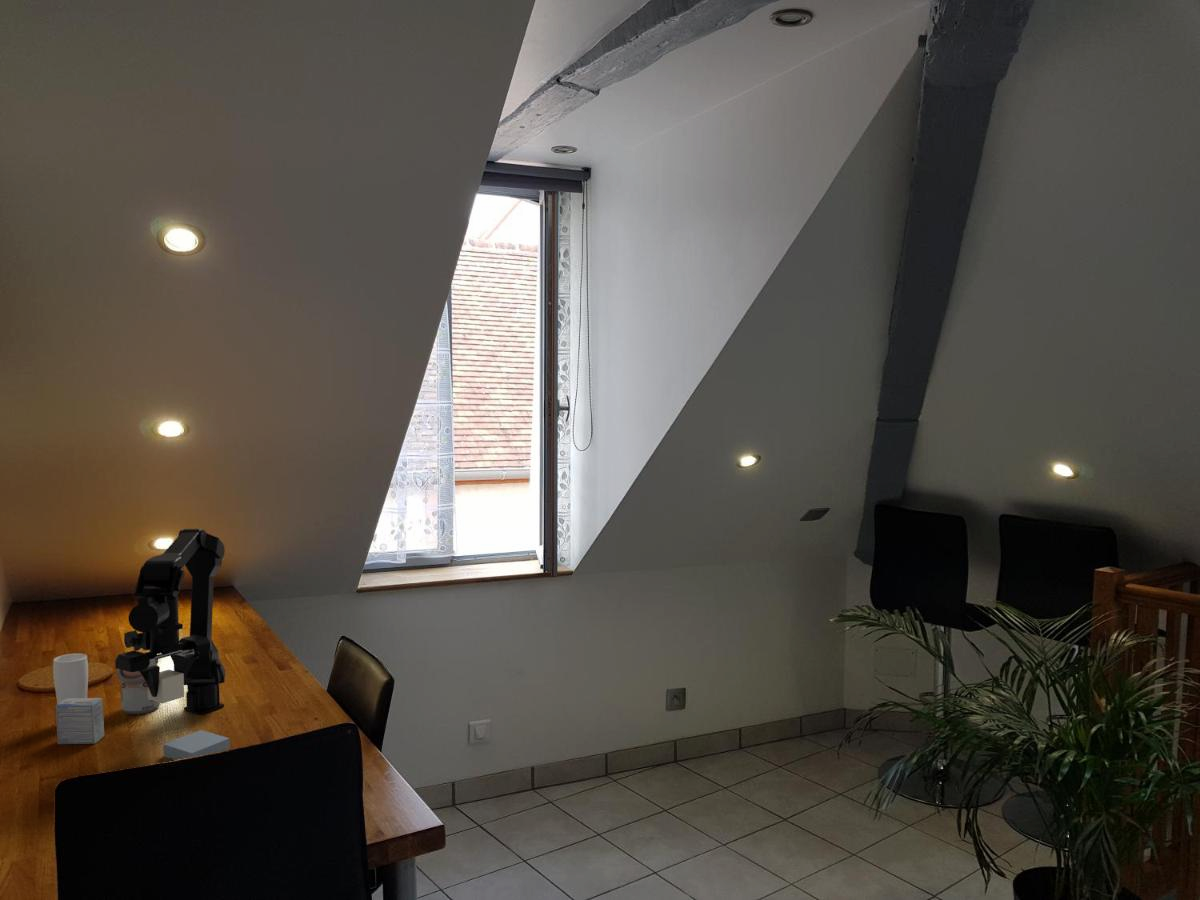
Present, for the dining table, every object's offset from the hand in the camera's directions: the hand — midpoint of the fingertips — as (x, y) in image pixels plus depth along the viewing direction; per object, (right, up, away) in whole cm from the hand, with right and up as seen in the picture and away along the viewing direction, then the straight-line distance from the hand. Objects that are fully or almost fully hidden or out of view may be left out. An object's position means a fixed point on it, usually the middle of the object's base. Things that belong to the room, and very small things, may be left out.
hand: (166, 693), depth 205 cm
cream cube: (0, -1, 0) cm, 1 cm away
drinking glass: (-26, -10, +13) cm, 31 cm away
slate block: (+8, -12, -3) cm, 15 cm away
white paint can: (-16, -10, +22) cm, 29 cm away
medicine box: (-20, -11, +4) cm, 23 cm away
